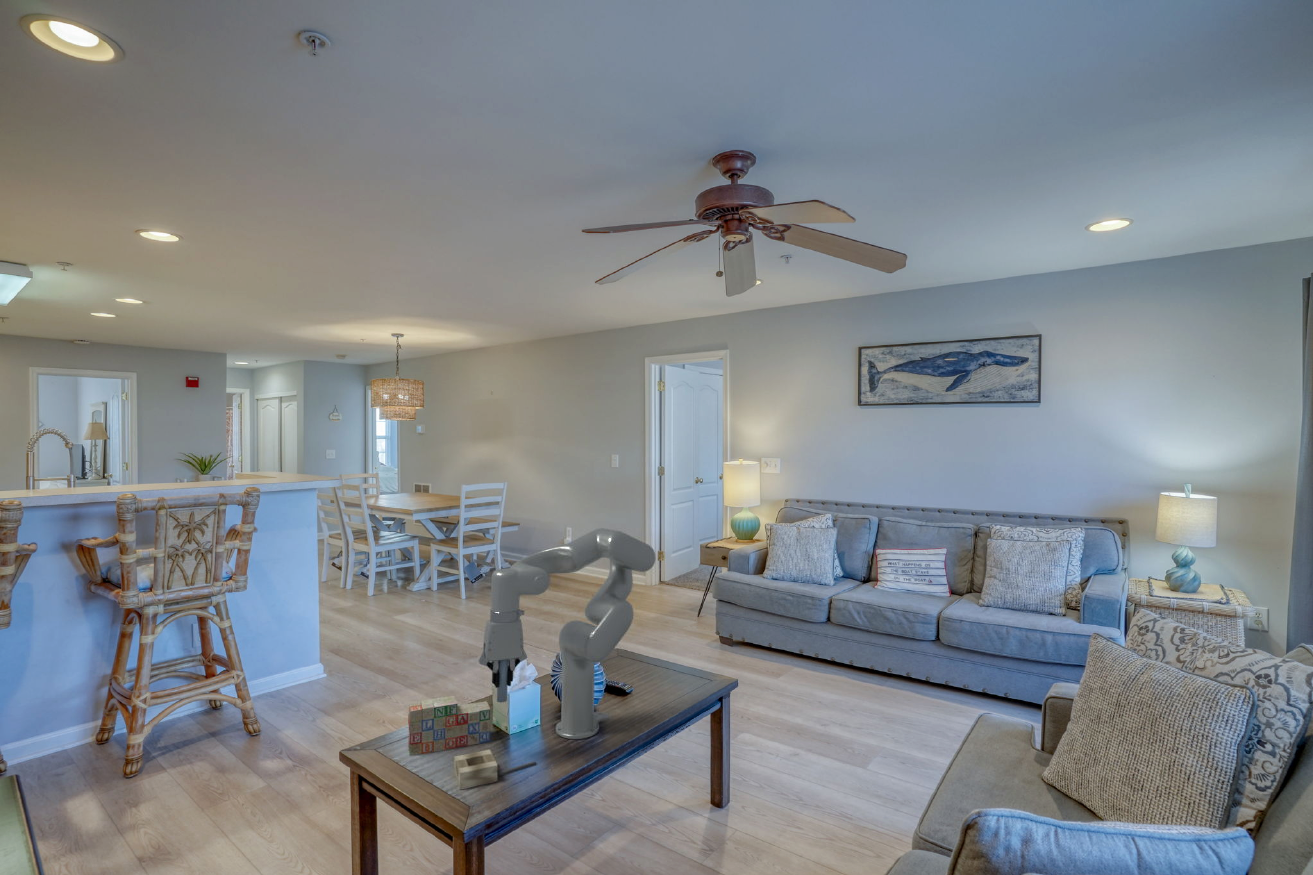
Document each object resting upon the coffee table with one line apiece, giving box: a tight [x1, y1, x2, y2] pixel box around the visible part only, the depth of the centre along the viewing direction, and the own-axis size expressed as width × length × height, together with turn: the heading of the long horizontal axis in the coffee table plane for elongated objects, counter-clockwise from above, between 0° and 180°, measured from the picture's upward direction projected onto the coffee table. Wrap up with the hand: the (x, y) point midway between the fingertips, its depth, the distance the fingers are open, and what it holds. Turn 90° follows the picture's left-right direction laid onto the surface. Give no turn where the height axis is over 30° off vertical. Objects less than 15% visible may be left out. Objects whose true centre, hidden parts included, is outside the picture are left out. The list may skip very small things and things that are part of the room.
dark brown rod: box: [498, 760, 537, 777], centre depth 164 cm, size 10×1×1 cm, turn 127°
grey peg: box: [496, 660, 508, 703], centre depth 170 cm, size 3×3×12 cm
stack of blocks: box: [407, 695, 491, 757], centre depth 177 cm, size 21×6×12 cm, turn 114°
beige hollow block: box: [453, 749, 498, 791], centre depth 160 cm, size 9×9×4 cm
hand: (502, 684), depth 170 cm, fingers closed on grey peg, 2 cm apart
